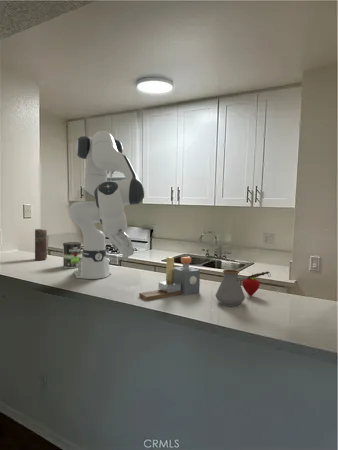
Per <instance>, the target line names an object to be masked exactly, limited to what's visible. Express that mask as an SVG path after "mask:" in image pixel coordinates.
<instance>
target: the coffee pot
mask: <svg viewBox="0 0 338 450" xmlns="http://www.w3.org/2000/svg"><path fill="white" fill-rule="evenodd" d="M222 273H223V275H224V276H223V277H222V280H221V282H220V284H219V286H218V289H217V291H216V292H215V298H216V300H217V301H218V302H219V303H220V304H221V305H223V306H229V307H236V306H239V305H240V304H242V303H243V302H244V301H245V300H246V299H245V298H246V296H245V293H244V290H243V287H242V286H241V283H240V282H241V281H243V280H245V279H249V278H254V277H255V278H260V277H261V276H264V275H267V276H268V277H269V278H271V277H272V275H271V273H270V272H269V271H265V272H264V271H262V272H260V273H258V272H257V273H253V275H252V274H251V275H247V276H244V277H238V275H239V274H240V271H239V270H237V269H224V270H222Z"/></svg>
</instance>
